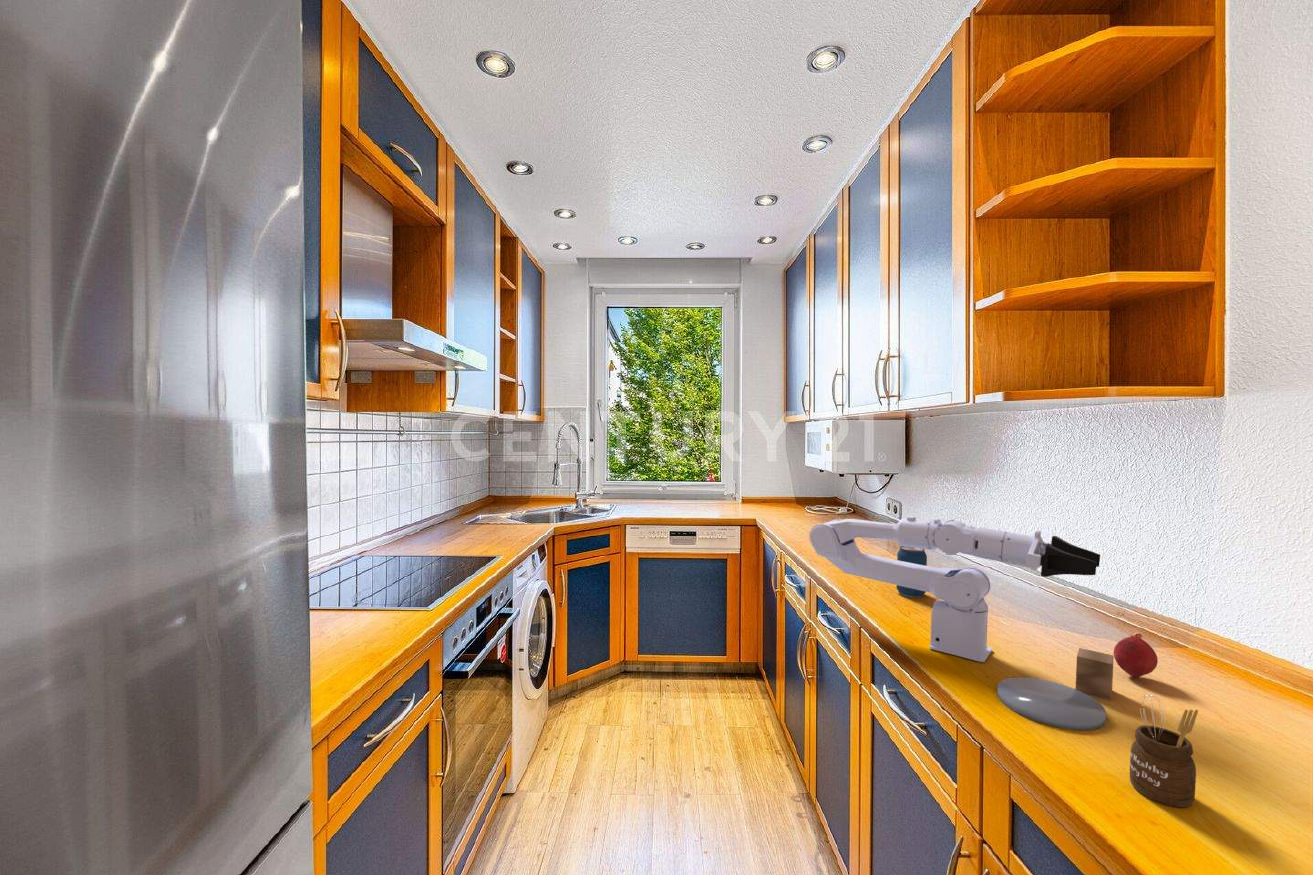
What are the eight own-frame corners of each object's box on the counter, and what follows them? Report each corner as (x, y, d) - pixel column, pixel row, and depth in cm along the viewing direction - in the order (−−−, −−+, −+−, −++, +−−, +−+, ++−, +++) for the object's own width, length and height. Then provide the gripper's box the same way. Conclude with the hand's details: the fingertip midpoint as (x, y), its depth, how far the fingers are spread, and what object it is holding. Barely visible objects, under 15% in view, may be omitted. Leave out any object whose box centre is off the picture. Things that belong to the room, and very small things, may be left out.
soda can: (891, 590, 147) (892, 544, 147) (916, 589, 148) (918, 544, 147) (904, 598, 140) (906, 551, 140) (931, 598, 141) (932, 551, 140)
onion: (1139, 686, 95) (1142, 640, 95) (1104, 671, 101) (1106, 628, 100) (1164, 682, 97) (1166, 637, 96) (1128, 668, 102) (1130, 625, 102)
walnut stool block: (1075, 691, 93) (1076, 656, 93) (1077, 681, 97) (1079, 647, 97) (1110, 700, 90) (1112, 664, 90) (1112, 690, 94) (1113, 655, 94)
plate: (989, 706, 88) (989, 699, 88) (1006, 676, 98) (1006, 669, 98) (1103, 741, 79) (1103, 733, 79) (1108, 703, 89) (1108, 696, 89)
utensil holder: (1161, 776, 71) (1165, 683, 71) (1211, 811, 65) (1217, 709, 64) (1116, 776, 71) (1120, 683, 71) (1162, 811, 65) (1167, 710, 64)
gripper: (999, 531, 98) (1097, 548, 89) (1014, 521, 109) (1103, 535, 100) (995, 570, 99) (1092, 591, 90) (1011, 556, 110) (1099, 574, 101)
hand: (1098, 564), depth 95 cm, fingers open, 7 cm apart
